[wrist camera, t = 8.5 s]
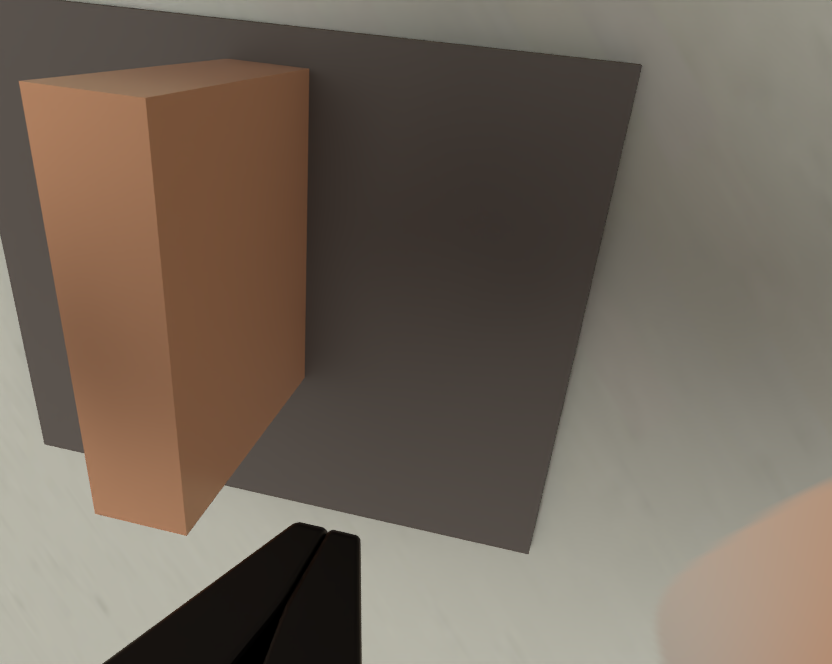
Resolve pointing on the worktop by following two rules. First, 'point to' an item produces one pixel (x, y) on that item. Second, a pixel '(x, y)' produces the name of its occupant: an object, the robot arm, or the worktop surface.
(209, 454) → the terracotta brick
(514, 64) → the rubber mat
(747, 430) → the worktop surface
